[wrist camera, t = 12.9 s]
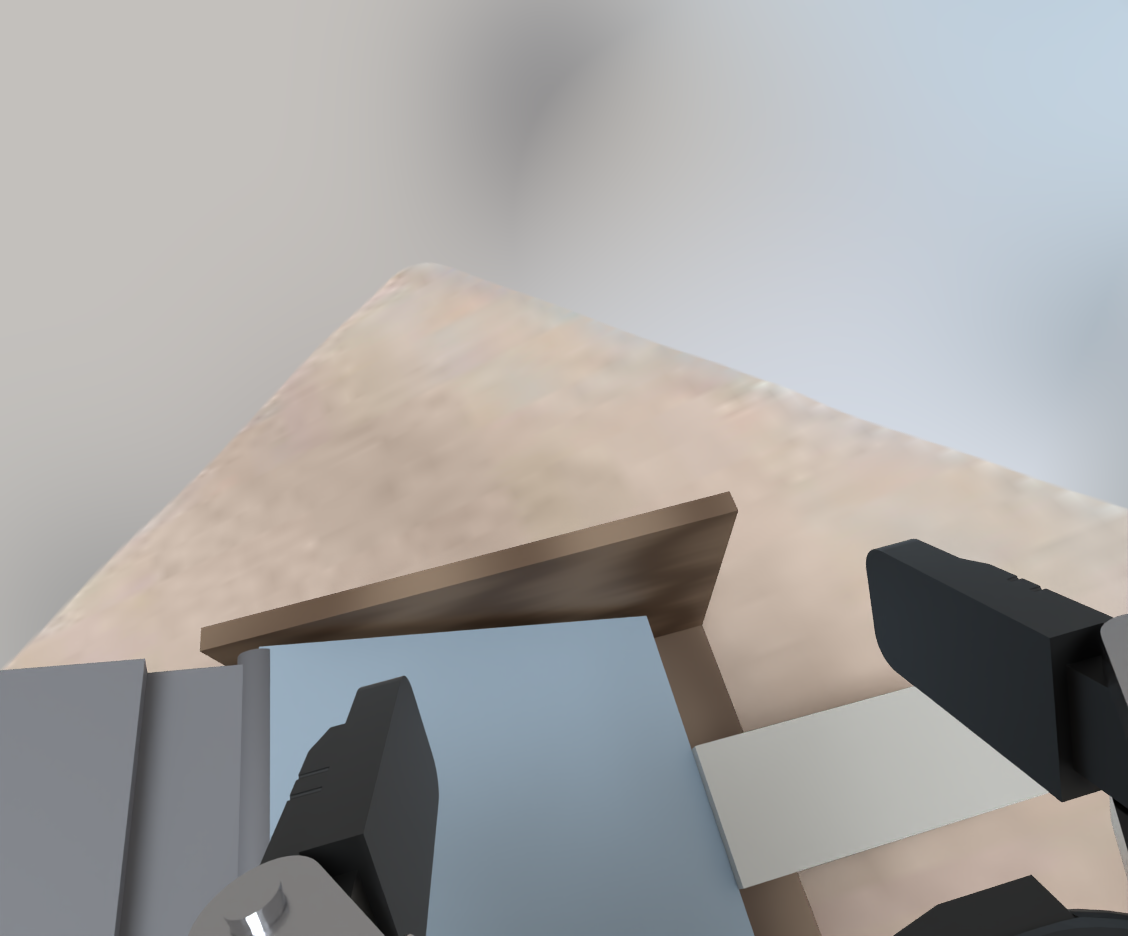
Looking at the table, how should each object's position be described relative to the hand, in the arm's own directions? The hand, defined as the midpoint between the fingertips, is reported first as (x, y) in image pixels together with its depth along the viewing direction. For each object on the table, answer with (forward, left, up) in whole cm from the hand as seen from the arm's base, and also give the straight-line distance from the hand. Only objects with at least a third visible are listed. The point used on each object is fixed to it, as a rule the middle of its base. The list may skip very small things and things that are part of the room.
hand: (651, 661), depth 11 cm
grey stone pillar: (+2, -2, -18) cm, 18 cm away
